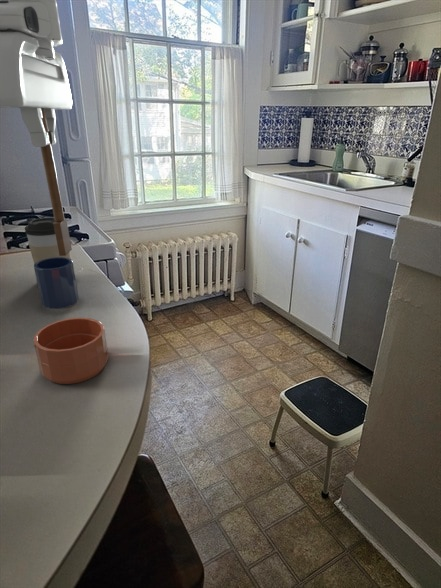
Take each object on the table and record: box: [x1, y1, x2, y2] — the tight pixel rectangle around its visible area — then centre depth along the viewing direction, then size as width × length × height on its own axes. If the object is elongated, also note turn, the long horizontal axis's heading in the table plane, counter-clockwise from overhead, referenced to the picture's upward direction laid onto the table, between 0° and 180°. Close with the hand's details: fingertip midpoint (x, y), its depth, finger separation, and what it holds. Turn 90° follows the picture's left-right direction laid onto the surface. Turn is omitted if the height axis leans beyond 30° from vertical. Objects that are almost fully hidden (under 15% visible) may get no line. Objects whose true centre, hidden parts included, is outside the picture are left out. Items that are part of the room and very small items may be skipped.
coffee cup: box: [24, 217, 72, 265], centre depth 90 cm, size 9×9×15 cm
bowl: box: [33, 317, 109, 385], centre depth 60 cm, size 10×10×6 cm
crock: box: [33, 257, 79, 310], centre depth 80 cm, size 7×7×9 cm
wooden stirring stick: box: [39, 108, 72, 256], centre depth 56 cm, size 1×3×21 cm, turn 3°
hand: (45, 145), depth 54 cm, fingers closed on wooden stirring stick, 1 cm apart
